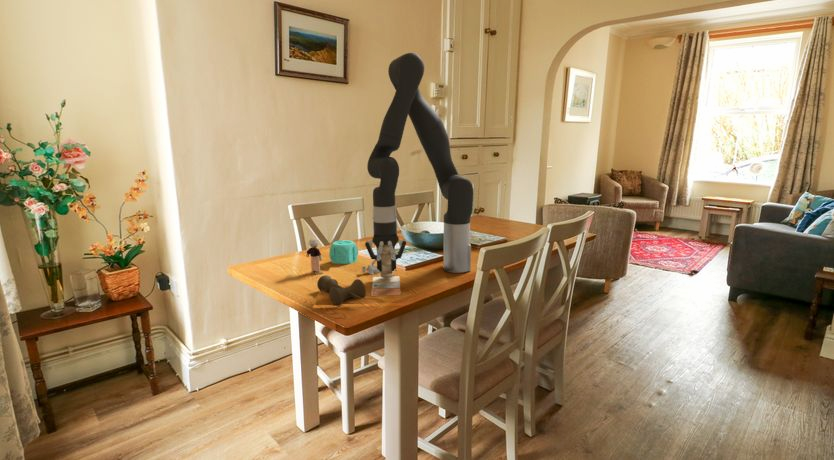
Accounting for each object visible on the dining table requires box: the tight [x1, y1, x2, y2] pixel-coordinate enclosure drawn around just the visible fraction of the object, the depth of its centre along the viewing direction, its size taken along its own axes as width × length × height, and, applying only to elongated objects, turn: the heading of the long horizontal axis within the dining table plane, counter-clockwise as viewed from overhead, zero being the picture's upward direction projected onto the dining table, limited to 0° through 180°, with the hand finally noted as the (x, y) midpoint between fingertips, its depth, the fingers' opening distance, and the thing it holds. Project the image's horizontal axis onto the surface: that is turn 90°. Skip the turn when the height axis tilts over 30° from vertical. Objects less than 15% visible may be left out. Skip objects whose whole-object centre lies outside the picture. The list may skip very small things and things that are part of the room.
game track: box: [370, 275, 401, 297], centre depth 141 cm, size 10×18×1 cm, turn 3°
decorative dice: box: [329, 239, 359, 265], centre depth 168 cm, size 8×8×8 cm
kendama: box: [316, 275, 367, 307], centre depth 133 cm, size 6×10×20 cm
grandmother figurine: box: [306, 237, 324, 275], centre depth 156 cm, size 8×4×13 cm, turn 65°
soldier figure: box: [361, 259, 398, 276], centre depth 154 cm, size 8×5×12 cm
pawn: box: [379, 245, 395, 278], centre depth 145 cm, size 4×4×11 cm
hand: (386, 270), depth 146 cm, fingers closed on pawn, 3 cm apart
